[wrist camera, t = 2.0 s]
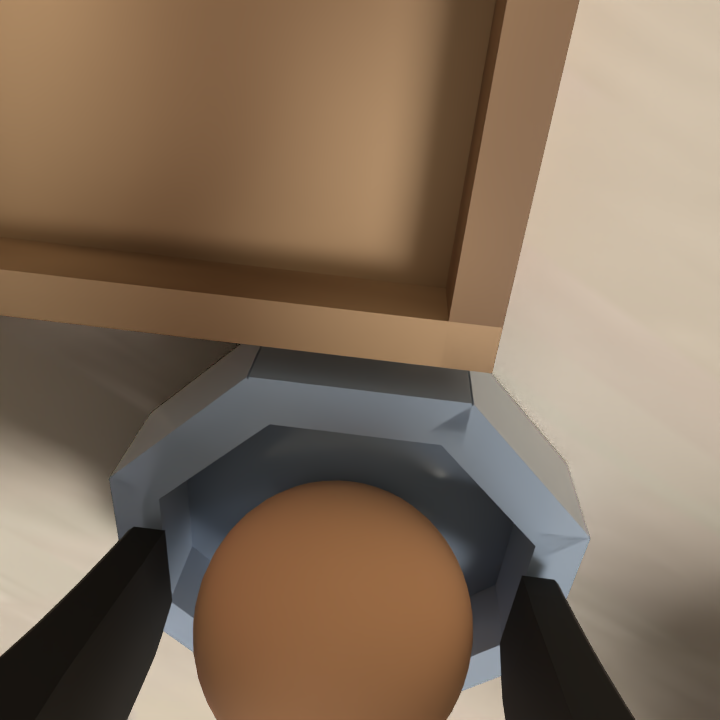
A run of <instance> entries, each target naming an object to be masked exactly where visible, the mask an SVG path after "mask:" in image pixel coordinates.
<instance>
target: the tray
mask: <svg viewBox="0 0 720 720" xmlns="http://www.w3.org/2000/svg"><path fill="white" fill-rule="evenodd" d="M578 4H579V0H0V315H2V316H11V317H19V318H27V319H36V320H44V321H53V322H61V323H70V324H78V325H87V326H95V327H104V328H112V329H121V330H129V331H137V332H146V333H154V334H163V335H171V336H180V337H188V338H197V339H205V340H214V341H222V342H230V343H239V344H247V345H256V346H264V347H273V348H281V349H290V350H298V351H307V352H315V353H323V354H332V355H340V356H349V357H357V358H366V359H374V360H383V361H391V362H400V363H408V364H416V365H425V366H433V367H442V368H450V369H459V370H467V371H476V372H484V373H492V371H493V367H494V363H495V358H496V354H497V350H498V346H499V341H500V337H501V333H502V329H503V324H504V320H505V316H506V311H507V307H508V303H509V299H510V294H511V290H512V286H513V282H514V277H515V273H516V269H517V265H518V260H519V256H520V252H521V247H522V243H523V239H524V235H525V230H526V226H527V222H528V218H529V213H530V209H531V205H532V201H533V196H534V192H535V188H536V183H537V179H538V175H539V171H540V166H541V162H542V158H543V154H544V149H545V145H546V141H547V137H548V132H549V128H550V124H551V119H552V115H553V111H554V107H555V102H556V98H557V94H558V90H559V85H560V81H561V77H562V73H563V68H564V64H565V60H566V55H567V51H568V47H569V43H570V38H571V34H572V30H573V26H574V21H575V17H576V13H577V9H578Z"/></svg>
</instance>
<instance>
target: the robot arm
mask: <svg viewBox="0 0 720 720" xmlns="http://www.w3.org/2000/svg"><path fill="white" fill-rule="evenodd" d="M171 604H172V592H171V582H170V573H169V563H168V553H167V544H166V534H165V530H158V529H150V528H142V527H132V528H131V529H129V530H128V531H127V532H126V533H125V534H124V535H123V537H122V538H121V539H120V540H119V541H118V542H117V543H116V544H115V545H114V546H113V547H112V548H111V549H110V551H109V552H108V553H107V554H106V555H105V556H104V557H103V558H102V559H101V560H100V561H99V562H98V563H97V564H96V565H95V566H94V567H93V568H92V569H91V571H90V572H89V573H88V574H87V575H86V576H85V577H84V578H83V579H82V580H81V581H80V582H79V583H78V584H77V585H76V586H75V587H74V588H73V589H72V590H71V591H70V592H69V593H68V594H67V595H66V596H65V597H64V598H63V599H62V600H61V601H60V602H59V603H58V604H57V605H55V606H54V607H53V608H52V609H51V610H50V611H49V612H48V613H47V614H46V615H45V616H44V617H43V618H42V619H41V620H40V621H39V622H38V623H37V624H36V625H35V626H34V627H33V628H31V629H30V630H29V631H28V632H27V633H26V634H25V635H24V636H23V637H21V638H20V639H19V640H18V641H17V642H16V643H15V644H14V645H13V646H12V647H10V648H9V649H8V650H7V651H6V652H5V653H4V654H3V655H2V656H0V720H128V716H129V714H130V712H131V710H132V707H133V705H134V703H135V701H136V698H137V696H138V694H139V691H140V689H141V687H142V685H143V682H144V680H145V678H146V675H147V673H148V671H149V669H150V666H151V664H152V662H153V659H154V657H155V654H156V651H157V648H158V645H159V642H160V639H161V636H162V633H163V630H164V627H165V623H166V620H167V617H168V614H169V610H170V607H171ZM500 663H501V683H502V699H503V707H504V713H505V720H635V718H634V717H633V715H632V713H631V712H630V710H629V709H628V707H627V706H626V704H625V702H624V701H623V699H622V697H621V696H620V694H619V692H618V691H617V689H616V687H615V686H614V684H613V682H612V681H611V679H610V677H609V676H608V674H607V672H606V671H605V669H604V667H603V666H602V664H601V662H600V660H599V659H598V657H597V655H596V654H595V652H594V650H593V648H592V646H591V645H590V643H589V641H588V639H587V637H586V636H585V634H584V632H583V630H582V628H581V626H580V625H579V623H578V621H577V619H576V617H575V615H574V613H573V611H572V610H571V608H570V606H569V604H568V602H567V600H566V598H565V596H564V594H563V592H562V590H561V588H560V586H559V584H558V583H557V582H556V581H555V580H554V579H546V578H538V577H530V576H522V577H521V580H520V583H519V586H518V589H517V592H516V595H515V598H514V601H513V604H512V607H511V610H510V613H509V616H508V619H507V622H506V625H505V628H504V631H503V634H502V637H501V641H500Z"/></svg>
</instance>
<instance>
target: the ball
mask: <svg viewBox="0 0 720 720" xmlns="http://www.w3.org/2000/svg"><path fill="white" fill-rule="evenodd" d="M472 644H473V616H472V608H471V602H470V596H469V592H468V587H467V584H466V581H465V578H464V575H463V572H462V570H461V567H460V565H459V563H458V560H457V559H456V557H455V555H454V553H453V551H452V549H451V548H450V546H449V544H448V543H447V541H446V540H445V538H444V537H443V536H442V534H441V533H440V532H439V531H438V529H437V528H436V527H435V526H434V525H433V524H432V523H431V521H430V520H429V519H428V518H427V517H425V516H424V515H423V514H422V513H421V512H420V511H418V510H417V509H416V508H415V507H413V506H412V505H411V504H409V503H408V502H406V501H405V500H403V499H402V498H400V497H398V496H396V495H394V494H392V493H390V492H388V491H385V490H383V489H380V488H378V487H374V486H371V485H367V484H364V483H358V482H353V481H341V480H334V481H318V482H311V483H306V484H302V485H298V486H295V487H293V488H290V489H287V490H285V491H283V492H280V493H278V494H276V495H274V496H272V497H270V498H268V499H266V500H265V501H264V502H262V503H261V504H259V505H258V506H257V507H255V508H254V509H253V510H251V511H250V512H248V513H247V514H246V515H245V516H244V517H243V518H242V519H241V520H240V521H239V522H238V523H237V524H236V525H235V526H234V527H233V528H232V529H231V530H230V531H229V533H228V534H227V536H226V537H225V538H224V540H223V541H222V543H221V544H220V546H219V547H218V549H217V550H216V552H215V553H214V555H213V557H212V559H211V561H210V563H209V566H208V568H207V570H206V572H205V574H204V576H203V579H202V582H201V586H200V589H199V593H198V596H197V601H196V605H195V612H194V620H193V652H194V657H195V663H196V668H197V674H198V679H199V681H200V684H201V687H202V690H203V693H204V696H205V698H206V701H207V703H208V705H209V707H210V709H211V710H212V712H213V714H214V716H215V718H216V719H217V720H446V719H447V718H448V716H449V715H450V713H451V712H452V710H453V708H454V706H455V704H456V702H457V700H458V698H459V695H460V693H461V691H462V688H463V686H464V682H465V679H466V676H467V673H468V669H469V664H470V658H471V651H472Z"/></svg>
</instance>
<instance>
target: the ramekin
mask: <svg viewBox="0 0 720 720" xmlns="http://www.w3.org/2000/svg"><path fill="white" fill-rule="evenodd" d="M334 480H341V481H353V482H358V483H364V484H367V485H371V486H374V487H378V488H380V489H383V490H385V491H388V492H390V493H392V494H394V495H396V496H398V497H400V498H402V499H403V500H405V501H406V502H408V503H409V504H411V505H412V506H413V507H415V508H416V509H417V510H418V511H420V512H421V513H422V514H423V515H424V516H425V517H427V518H428V519H429V520H430V521H431V523H432V524H433V525H434V526H435V527H436V528H437V529H438V531H439V532H440V533H441V534H442V536H443V537H444V538H445V540H446V541H447V543H448V544H449V546H450V548H451V549H452V551H453V553H454V555H455V557H456V559H457V560H458V563H459V565H460V567H461V570H462V572H463V575H464V578H465V581H466V584H467V587H468V592H469V596H470V602H471V608H472V616H473V644H472V651H471V658H470V664H469V669H468V673H467V676H466V679H465V682H464V686H463V688H462V691H463V690H466V689H468V688H471V687H474V686H476V685H479V684H481V683H484V682H487V681H489V680H492V679H494V678H497V677H500V676H501V663H500V641H501V637H502V634H503V631H504V628H505V625H506V622H507V619H508V616H509V613H510V610H511V607H512V604H513V601H514V598H515V595H516V592H517V589H518V586H519V583H520V580H521V577H522V576H530V577H538V578H546V579H554V580H555V581H556V582H557V583H558V584H559V586H560V588H561V590H562V592H563V594H564V596H565V598H566V599H567V596H568V594H569V591H570V589H571V586H572V584H573V581H574V579H575V576H576V573H577V571H578V568H579V566H580V563H581V561H582V558H583V556H584V553H585V551H586V548H587V546H588V543H589V541H590V536H589V533H588V529H587V526H586V523H585V520H584V516H583V513H582V510H581V507H580V503H579V500H578V497H577V494H576V491H575V487H574V484H573V481H572V478H571V474H570V471H569V468H568V465H567V463H566V462H565V461H564V460H563V458H562V457H561V456H560V455H559V454H558V452H557V451H556V450H555V449H554V448H553V446H552V445H551V444H550V443H549V442H548V441H547V439H546V438H545V437H544V436H543V435H542V433H541V432H540V431H539V430H538V429H537V427H536V426H535V425H534V424H533V423H532V421H531V420H530V419H529V418H528V417H527V415H526V414H525V413H524V412H523V411H522V409H521V408H520V407H519V406H518V405H517V403H516V402H515V401H514V400H513V399H512V397H511V396H510V395H509V394H508V393H507V392H506V390H505V389H504V388H503V387H502V386H501V384H500V383H499V382H498V381H497V380H496V378H495V377H494V376H493V375H492V374H491V373H484V372H476V371H467V370H459V369H450V368H442V367H433V366H425V365H416V364H408V363H400V362H391V361H383V360H374V359H366V358H357V357H349V356H340V355H332V354H323V353H315V352H307V351H298V350H290V349H281V348H273V347H264V346H256V345H247V344H240V345H239V346H238V347H236V348H235V349H234V350H233V351H231V352H230V353H229V354H227V355H226V356H225V357H223V358H222V359H221V360H219V361H218V362H217V363H216V364H214V365H213V366H212V367H210V368H209V369H208V370H206V371H205V372H204V373H202V374H201V375H200V376H199V377H197V378H196V379H195V380H193V381H192V382H191V383H189V384H188V385H187V386H186V387H184V388H183V389H182V390H180V391H179V392H178V393H176V394H175V395H174V396H172V397H171V398H170V399H169V400H167V401H166V402H165V403H163V404H162V405H161V406H159V407H158V408H157V409H155V410H154V411H153V412H152V413H150V415H149V416H148V418H147V419H146V421H145V423H144V424H143V426H142V427H141V429H140V430H139V432H138V434H137V435H136V437H135V438H134V440H133V441H132V443H131V445H130V446H129V448H128V449H127V451H126V453H125V454H124V456H123V457H122V459H121V460H120V462H119V464H118V465H117V467H116V468H115V470H114V471H113V473H112V475H111V476H110V478H109V481H110V488H111V494H112V500H113V506H114V513H115V519H116V525H117V531H118V538H119V540H120V539H121V538H122V537H123V535H124V534H125V533H126V532H127V531H128V530H129V529H131V528H132V527H142V528H150V529H158V530H165V534H166V544H167V553H168V563H169V573H170V582H171V592H172V604H171V607H170V610H169V614H168V617H167V620H166V623H165V627H164V630H163V631H164V632H166V633H167V634H168V635H170V636H171V637H173V638H174V639H175V640H177V641H178V642H180V643H181V644H182V645H184V646H185V647H187V648H188V649H189V650H191V651H192V652H193V620H194V612H195V605H196V601H197V596H198V593H199V589H200V586H201V582H202V579H203V576H204V574H205V572H206V570H207V568H208V566H209V563H210V561H211V559H212V557H213V555H214V553H215V552H216V550H217V549H218V547H219V546H220V544H221V543H222V541H223V540H224V538H225V537H226V536H227V534H228V533H229V531H230V530H231V529H232V528H233V527H234V526H235V525H236V524H237V523H238V522H239V521H240V520H241V519H242V518H243V517H244V516H245V515H246V514H247V513H248V512H250V511H251V510H253V509H254V508H255V507H257V506H258V505H259V504H261V503H262V502H264V501H265V500H266V499H268V498H270V497H272V496H274V495H276V494H278V493H280V492H283V491H285V490H287V489H290V488H293V487H295V486H298V485H302V484H306V483H311V482H318V481H334Z"/></svg>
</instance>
